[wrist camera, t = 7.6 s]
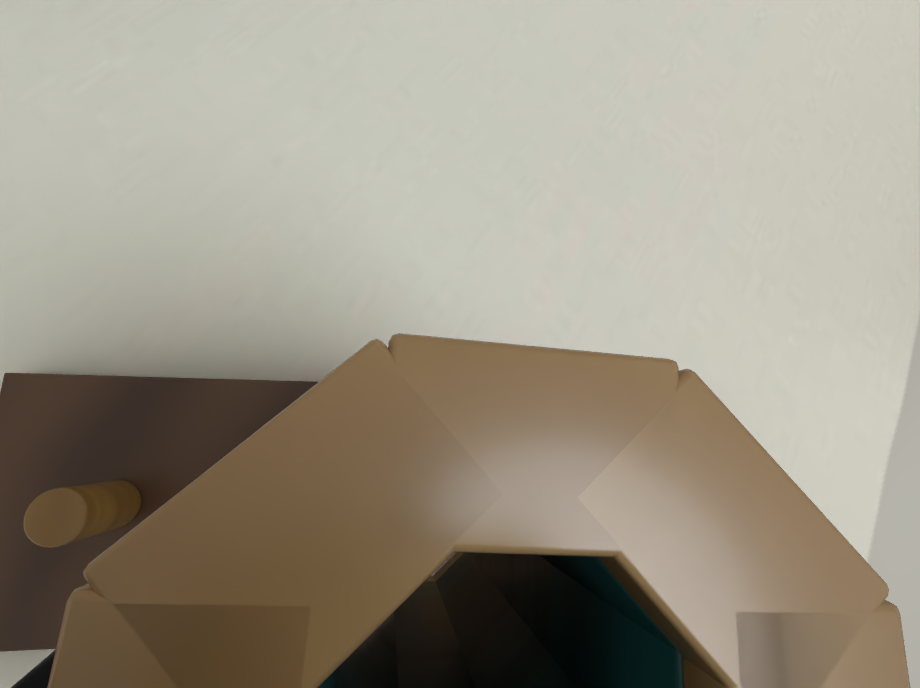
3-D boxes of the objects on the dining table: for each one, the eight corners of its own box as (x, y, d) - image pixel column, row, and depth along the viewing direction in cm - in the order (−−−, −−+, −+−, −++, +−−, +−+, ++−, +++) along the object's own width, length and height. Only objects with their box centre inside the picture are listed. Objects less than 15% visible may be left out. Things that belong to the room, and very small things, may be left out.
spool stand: (530, 391, 23) (566, 377, 18) (535, 614, 21) (578, 661, 16) (26, 376, 20) (-82, 356, 15) (-29, 641, 18) (-174, 710, 13)
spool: (556, 527, 14) (1081, 775, 3) (403, 688, 13) (507, 2008, 2) (427, 377, 14) (545, 186, 4) (263, 516, 13) (-294, 836, 2)
